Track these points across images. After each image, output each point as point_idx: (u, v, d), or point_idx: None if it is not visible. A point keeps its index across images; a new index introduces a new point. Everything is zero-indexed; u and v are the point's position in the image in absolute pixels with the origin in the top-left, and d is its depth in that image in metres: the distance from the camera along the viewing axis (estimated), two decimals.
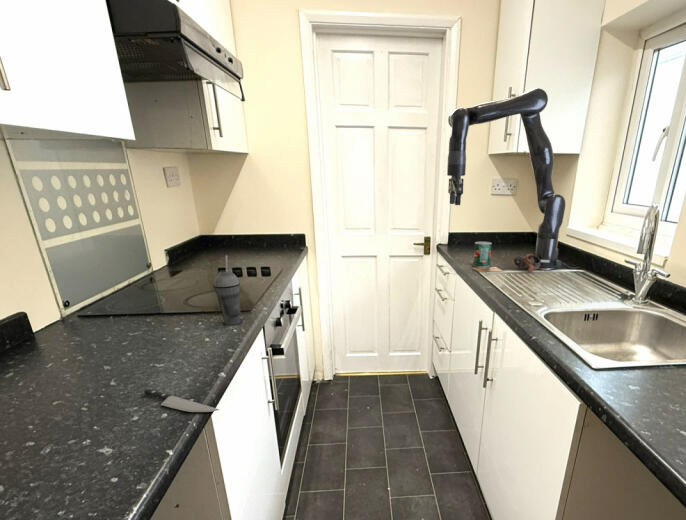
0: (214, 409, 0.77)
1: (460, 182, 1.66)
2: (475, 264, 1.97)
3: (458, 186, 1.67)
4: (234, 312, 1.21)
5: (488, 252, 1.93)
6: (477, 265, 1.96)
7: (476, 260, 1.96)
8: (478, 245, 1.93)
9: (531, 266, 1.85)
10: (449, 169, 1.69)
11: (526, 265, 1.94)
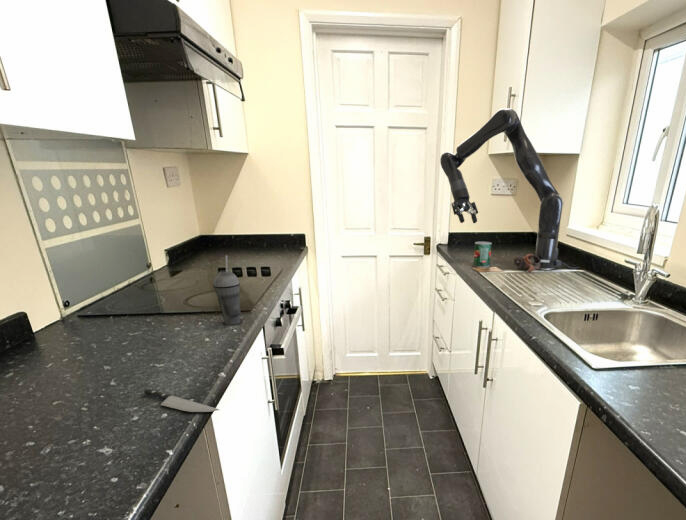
0: (214, 409, 0.77)
1: (453, 204, 1.94)
2: (475, 264, 1.97)
3: (453, 208, 1.94)
4: (234, 312, 1.21)
5: (488, 252, 1.93)
6: (477, 265, 1.96)
7: (476, 260, 1.96)
8: (478, 245, 1.93)
9: (531, 266, 1.85)
10: None
11: (526, 265, 1.94)
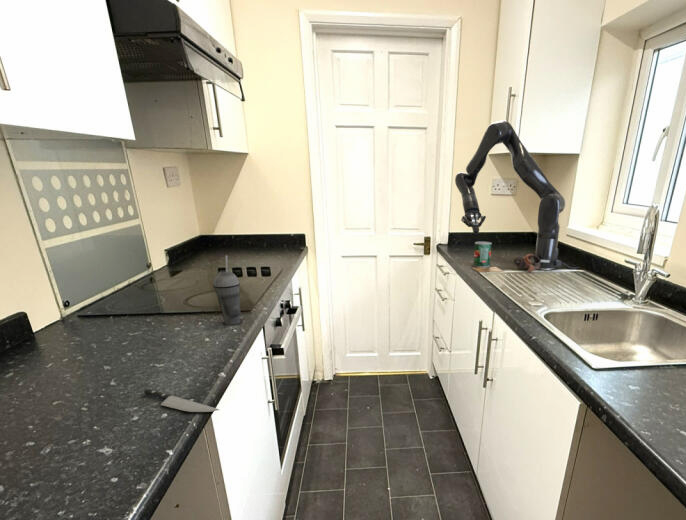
0: (214, 409, 0.77)
1: (463, 220, 2.05)
2: (475, 264, 1.97)
3: (465, 223, 2.06)
4: (234, 312, 1.21)
5: (488, 252, 1.93)
6: (477, 265, 1.96)
7: (476, 260, 1.96)
8: (478, 245, 1.93)
9: (531, 266, 1.85)
10: None
11: (526, 265, 1.94)
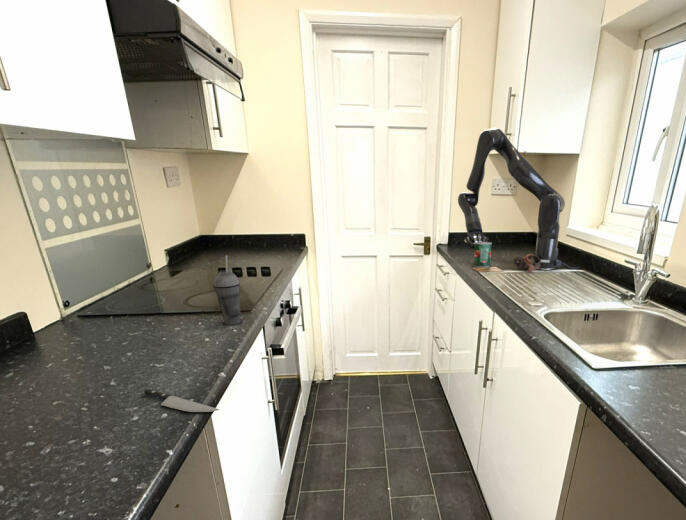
0: (214, 409, 0.77)
1: (466, 241, 2.03)
2: (475, 265, 1.97)
3: (468, 244, 2.03)
4: (234, 312, 1.21)
5: (488, 252, 1.93)
6: (477, 265, 1.96)
7: (476, 260, 1.95)
8: (478, 245, 1.92)
9: (531, 266, 1.85)
10: None
11: (526, 265, 1.94)
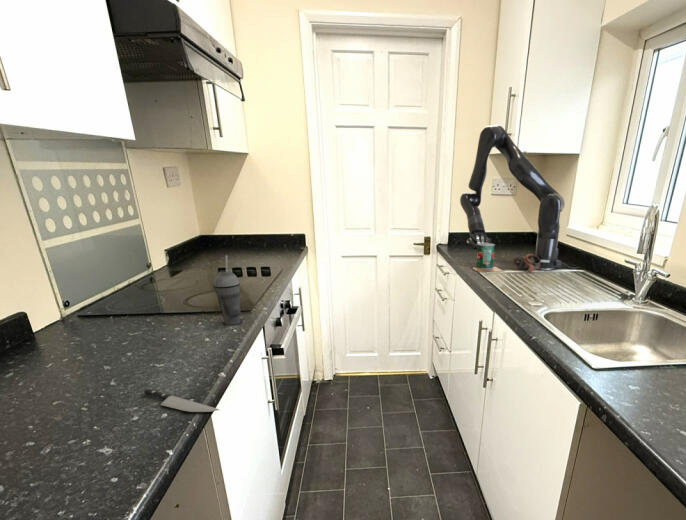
0: (214, 409, 0.77)
1: (468, 242, 1.99)
2: (478, 266, 1.93)
3: (470, 245, 2.00)
4: (234, 312, 1.21)
5: (491, 254, 1.89)
6: (480, 267, 1.92)
7: (479, 262, 1.92)
8: (481, 246, 1.89)
9: (531, 266, 1.85)
10: None
11: (526, 265, 1.94)
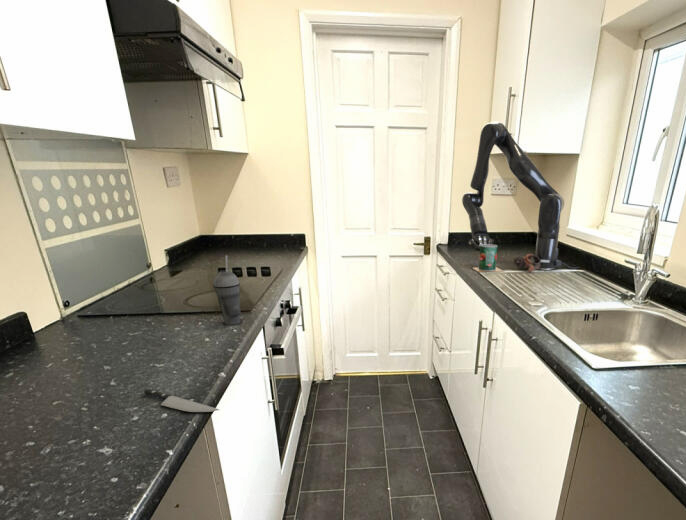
0: (214, 409, 0.77)
1: (470, 243, 1.96)
2: (480, 268, 1.90)
3: (472, 246, 1.96)
4: (234, 312, 1.21)
5: (494, 255, 1.86)
6: (482, 269, 1.89)
7: (481, 263, 1.88)
8: (484, 248, 1.85)
9: (531, 266, 1.85)
10: None
11: (526, 265, 1.94)
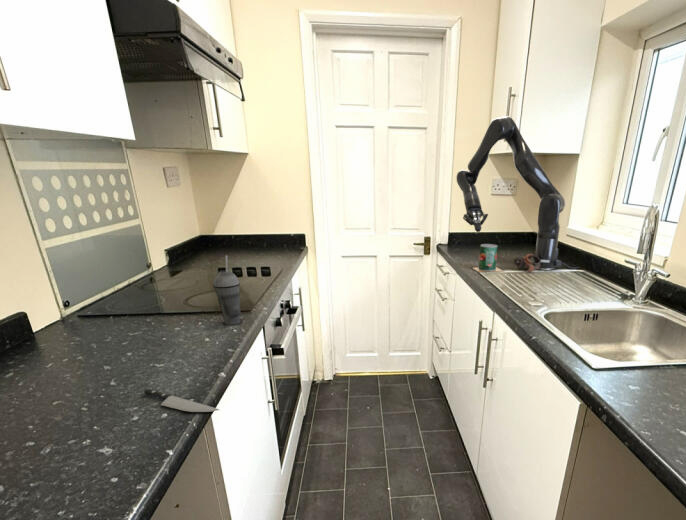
0: (214, 409, 0.77)
1: (465, 218, 2.02)
2: (480, 268, 1.90)
3: (467, 221, 2.03)
4: (234, 312, 1.21)
5: (494, 255, 1.86)
6: (482, 269, 1.89)
7: (481, 263, 1.88)
8: (484, 248, 1.85)
9: (531, 266, 1.85)
10: None
11: (526, 265, 1.94)
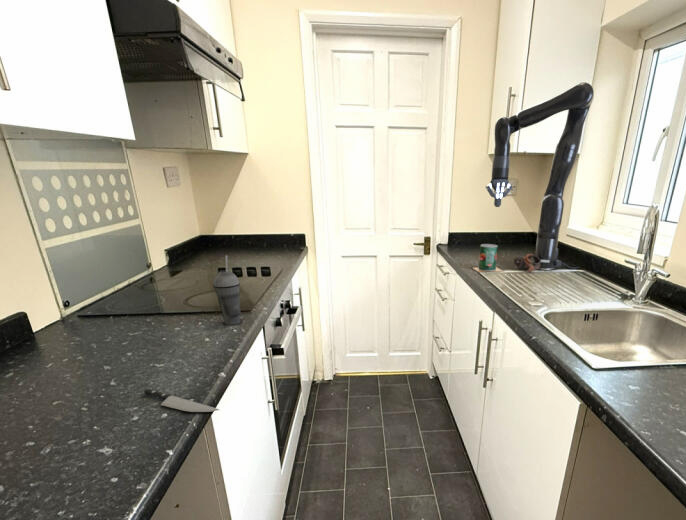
0: (214, 409, 0.77)
1: (487, 189, 1.90)
2: (480, 268, 1.90)
3: None
4: (234, 312, 1.21)
5: (494, 255, 1.86)
6: (482, 269, 1.89)
7: (481, 263, 1.88)
8: (484, 248, 1.85)
9: (531, 266, 1.85)
10: None
11: (526, 265, 1.94)
